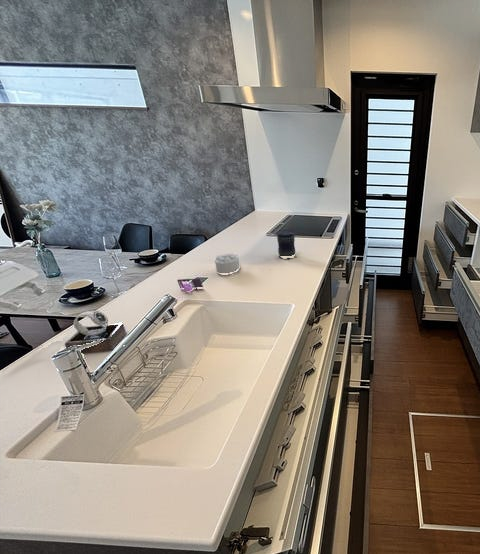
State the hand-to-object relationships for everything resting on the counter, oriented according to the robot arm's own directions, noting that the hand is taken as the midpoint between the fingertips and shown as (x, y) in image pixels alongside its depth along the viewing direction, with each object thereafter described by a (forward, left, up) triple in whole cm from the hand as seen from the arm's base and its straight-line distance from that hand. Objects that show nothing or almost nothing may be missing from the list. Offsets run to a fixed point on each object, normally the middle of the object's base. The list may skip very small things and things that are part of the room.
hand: (31, 300), depth 89 cm
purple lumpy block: (+31, +36, -18) cm, 50 cm away
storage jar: (+73, +77, -18) cm, 107 cm away
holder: (+12, +1, -18) cm, 21 cm away
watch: (+12, +1, -17) cm, 21 cm away
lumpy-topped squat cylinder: (+43, +58, -18) cm, 74 cm away
